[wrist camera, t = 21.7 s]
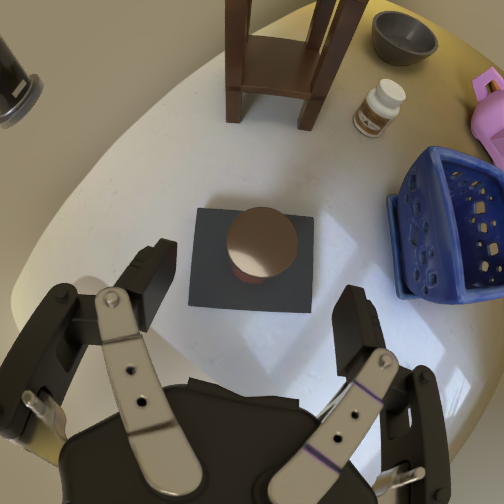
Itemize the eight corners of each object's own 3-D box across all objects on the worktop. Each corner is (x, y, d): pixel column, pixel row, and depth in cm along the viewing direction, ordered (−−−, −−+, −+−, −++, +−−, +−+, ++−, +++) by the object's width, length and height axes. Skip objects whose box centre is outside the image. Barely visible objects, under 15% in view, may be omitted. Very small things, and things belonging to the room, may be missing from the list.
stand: (226, 122, 29) (225, -36, 10) (234, 69, 31) (240, -58, 11) (311, 131, 30) (373, -10, 10) (307, 77, 31) (346, -42, 12)
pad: (191, 305, 25) (187, 305, 23) (199, 214, 27) (197, 207, 25) (305, 312, 26) (311, 313, 24) (308, 222, 28) (313, 216, 26)
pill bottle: (346, 122, 30) (370, 84, 23) (361, 107, 31) (384, 71, 24) (373, 144, 30) (402, 109, 22) (386, 127, 31) (414, 94, 23)
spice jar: (226, 283, 24) (223, 274, 16) (230, 234, 25) (229, 204, 17) (276, 286, 24) (296, 279, 16) (278, 238, 25) (299, 210, 17)
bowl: (432, 57, 37) (445, 40, 31) (404, 89, 33) (421, 66, 27) (388, 24, 38) (397, 6, 32) (345, 46, 34) (356, 21, 28)
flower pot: (446, 199, 30) (506, 166, 18) (459, 297, 27) (528, 290, 16) (368, 191, 29) (427, 139, 17) (380, 309, 26) (458, 309, 15)
